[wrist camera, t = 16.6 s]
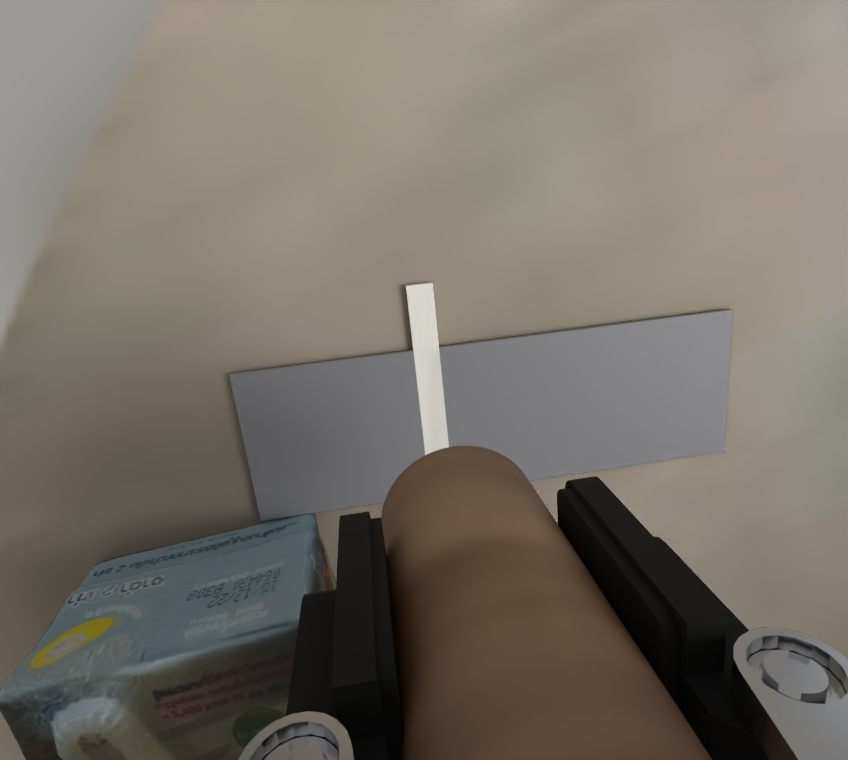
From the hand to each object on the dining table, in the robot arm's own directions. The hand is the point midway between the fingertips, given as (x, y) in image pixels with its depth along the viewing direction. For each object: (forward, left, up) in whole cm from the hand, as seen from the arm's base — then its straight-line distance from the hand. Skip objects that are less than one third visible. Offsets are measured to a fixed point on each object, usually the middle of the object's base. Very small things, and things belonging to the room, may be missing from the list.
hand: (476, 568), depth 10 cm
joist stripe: (-2, 0, -8) cm, 8 cm away
